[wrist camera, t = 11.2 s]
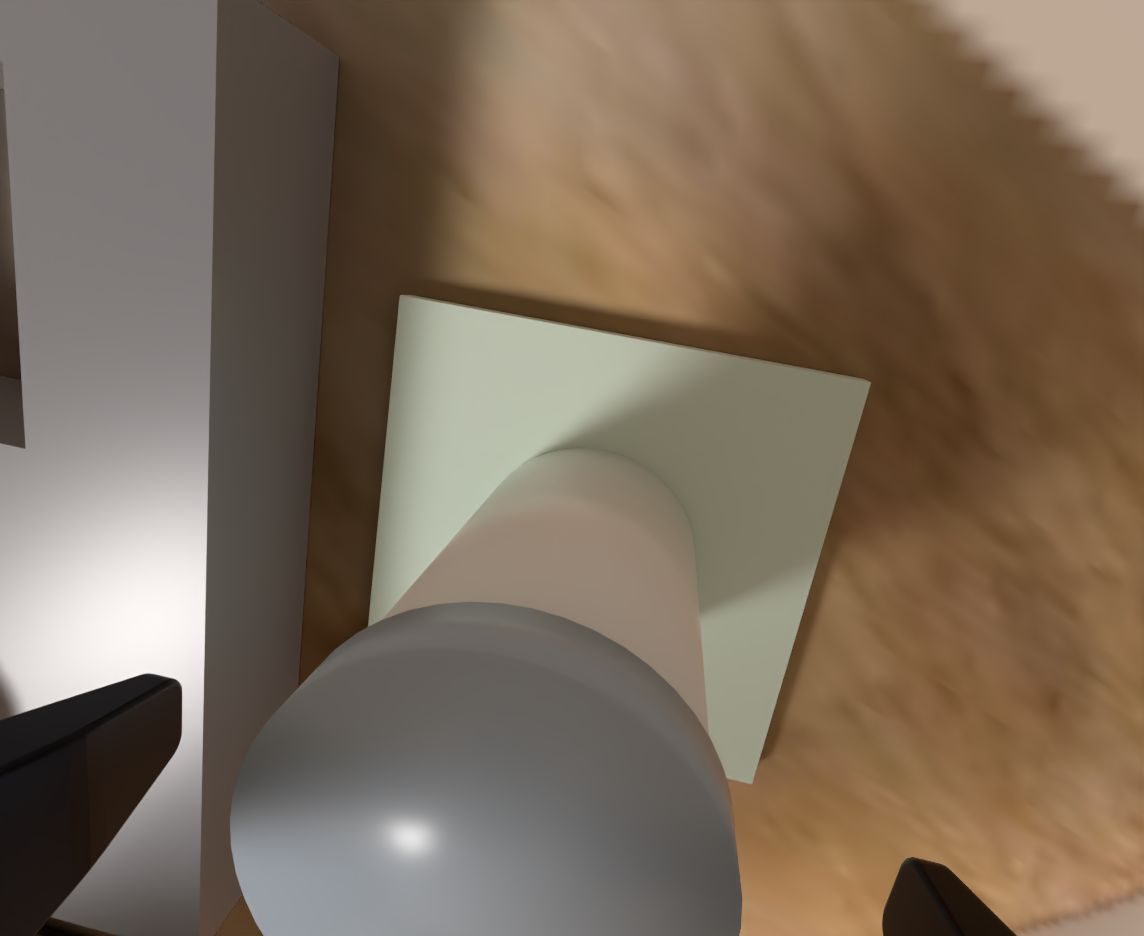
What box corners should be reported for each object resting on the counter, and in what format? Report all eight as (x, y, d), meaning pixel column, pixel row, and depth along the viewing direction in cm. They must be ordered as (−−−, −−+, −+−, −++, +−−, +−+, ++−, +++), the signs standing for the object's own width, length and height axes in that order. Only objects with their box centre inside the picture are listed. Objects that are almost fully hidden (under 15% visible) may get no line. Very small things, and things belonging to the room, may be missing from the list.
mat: (749, 767, 17) (751, 784, 17) (371, 679, 18) (361, 692, 17) (863, 378, 14) (870, 382, 14) (409, 294, 15) (399, 294, 15)
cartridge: (675, 682, 16) (676, 1136, 8) (456, 631, 17) (222, 1003, 8) (729, 466, 15) (806, 727, 6) (486, 416, 15) (238, 593, 7)
